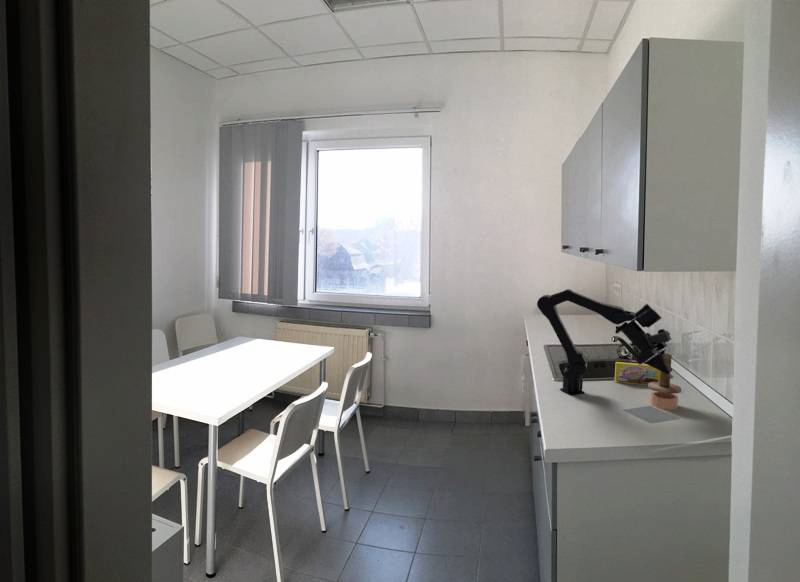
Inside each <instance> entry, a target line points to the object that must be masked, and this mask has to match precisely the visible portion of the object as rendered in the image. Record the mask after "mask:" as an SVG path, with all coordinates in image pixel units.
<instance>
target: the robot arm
mask: <svg viewBox="0 0 800 582" xmlns="http://www.w3.org/2000/svg"><path fill="white" fill-rule="evenodd" d="M565 302H570V303H573V304H575V305H577V306H579V307H582V308H585V309H587V310H589V311H592V312H594V313H597V314H598V315H600V316H601V317H603V318H605V320H607V321H609V322H611V324H614V325H616V326H615V332H614V333H615V334H620V333H621V332H622V333H623V335H624V336H625V337H626V338H627V339H628V340H629V341H630V343H631V344H630V345H631V347H635V348H636V349H637V350H638V352H639V354H638V355H636V357H635V361H636V363H637V364H639V365H641V364H647V365H649V366H652V367H654V368H656V369H658V370H660V371H662V372H664V373H666V374H669V373H670V371H669V370H668V368H667V367H666V365H665V364H664V362H663V361H662V360H661V357H662V354H666V347H668V345H669V344H667V342H670V340H672V338H671V333H670V332H669V331H668V330H666V329H665V328H661V329H658V330H657V333H655V334H651V333H649V332H645V330H643V329H642V328H648V329H649V328H651V327H652V326H653V325H654V324H655V323H657V322H659V321H660V320H661V319H662V316H661V315H660V314H659V313H658V312H657V311H656V310H655V309H654V308H652V307H651V306H650V305H649V304H648V303H646V304H644V305H643V306H642V307H641V308H640V309H639V310H637V311H636V312H635V311H634V312H633V311H628V310H625V309H624V308H623V307H621V306H618V305H614V304H607V303H604V302H600V301H598V300H595V299H592V298H590V297H588V296H585V295H584V294H581V293H578V292H575V291H573V290H572V289H569V288H567V289H564V290H562V291H559V292H556V293H554V294H543V295H542V296H541V297H539V298H538V299H537V303H536V305H537V308H538V310H539V311H540V312H541V313H542V315H543V316H544V317H545V318H546V320H548V321H549V324H550V326H551V327H552V329H553V331H554V333H555V335H556V337H557V339H558V341H559V343H560V344H561V346H562V349H563V351H564V352H565V355H566V359H567V364H568V365H567V366H566V367H565V369H564V370H563V371H564V372H563V375H562V388H559V391H561V390H562V392H564V393H565V394H568V395H570V396H572V395H580V394H581V395H582V394H585V391H584V390H583V385H584V384H583V381H584V380H583V376H582V375H583V374H585V373H586V371H587V367H588V358H587V357H586V356H585V353H584V350H579V349H578V348H576V345H575V344H574V342H573V340H572V339H571V336H570V335H569V332H568V330H567V328H566V326H565V324H564V323H563V321H562V318H561V317H560V315H559V311H558V307H557V306H558V305H560V304H562V303H565ZM672 371H673V368H672V367H671V372H672ZM670 374H671V373H670Z"/></svg>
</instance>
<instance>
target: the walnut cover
mask: <svg viewBox="0 0 800 582" xmlns="http://www.w3.org/2000/svg"><path fill="white" fill-rule="evenodd" d="M672 357H673V356H672V354H670V353H665V354H662V357H661V360H662V361H663V362H664V364H665V365H666V367H667V368H668V370H669V371H670V373H669V374H666V373H664V372H662V371H660V382H650V383H648V385H647V387H648V388H649V389H650V390H652V391H653V392H656V391H658V392H662V393H672V394H679V393H682V387H680V386H679V385H677V384H673V383H671V374H672V373H671V372H672V371H671V368H672Z"/></svg>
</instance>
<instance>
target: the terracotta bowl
mask: <svg viewBox="0 0 800 582" xmlns="http://www.w3.org/2000/svg"><path fill="white" fill-rule="evenodd" d="M649 403H650V406H652V407H654V408H657V409H662V410H671V411H672V410H676V409H678V406H679V396H677V394H675V393H662V392H658V391H652V392H651V393H650V400H649Z"/></svg>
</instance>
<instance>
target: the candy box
mask: <svg viewBox="0 0 800 582" xmlns="http://www.w3.org/2000/svg"><path fill="white" fill-rule="evenodd" d="M614 369H615V370H614V380H615V381H617V382H616V383H619V382H620V383H622V384H629V385H631V384H632V385H633V384H634V385H641V384H642V385H643V386H644V385H645V386H648V383H650V382H660V370H658V369H656V368H654V367H652V366H649V365H647V364H644V363H642V364H641V365H639V364H638V363H637V362H636V363H635V362H634V363H632V362H622V361H620V362H619V361H616V362H615V368H614ZM615 381H614V382H615Z"/></svg>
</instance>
